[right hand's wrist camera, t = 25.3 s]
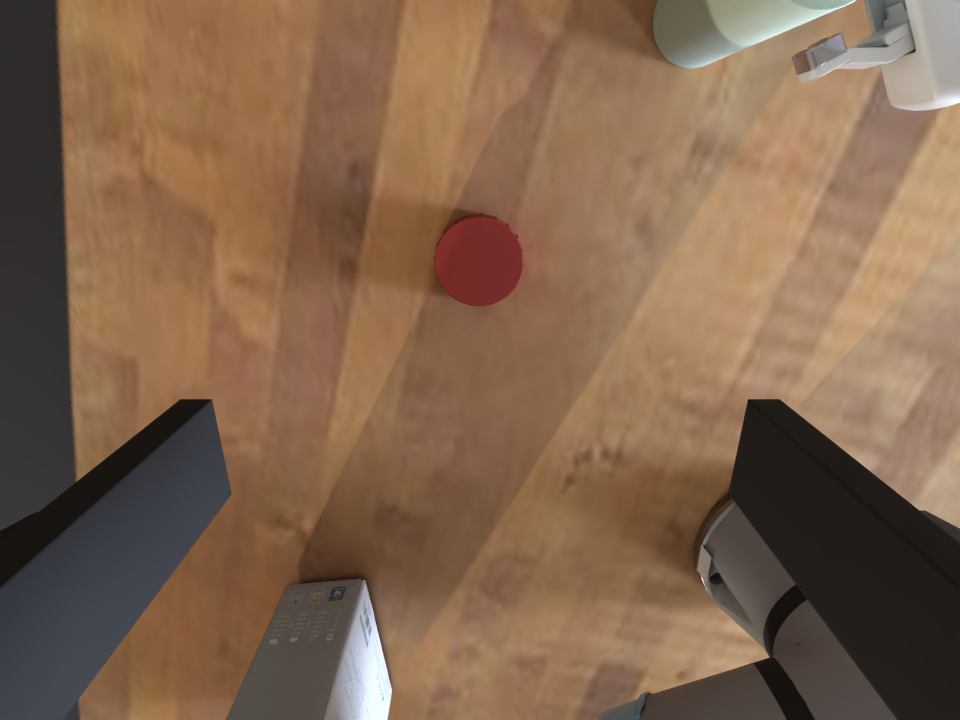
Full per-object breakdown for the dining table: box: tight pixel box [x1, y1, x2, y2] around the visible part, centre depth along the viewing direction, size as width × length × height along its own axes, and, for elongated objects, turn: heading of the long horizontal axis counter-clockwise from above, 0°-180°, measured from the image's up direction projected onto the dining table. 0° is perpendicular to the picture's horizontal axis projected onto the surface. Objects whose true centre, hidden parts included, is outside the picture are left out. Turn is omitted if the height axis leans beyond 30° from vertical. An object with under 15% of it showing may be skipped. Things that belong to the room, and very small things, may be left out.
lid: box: [434, 213, 524, 306], centre depth 36 cm, size 6×6×2 cm
